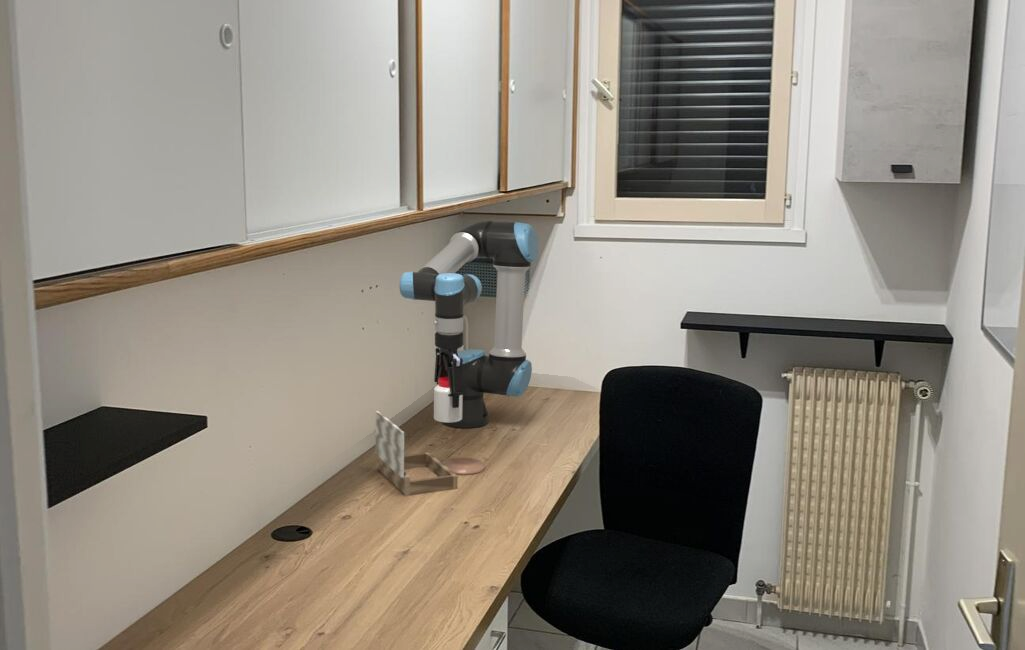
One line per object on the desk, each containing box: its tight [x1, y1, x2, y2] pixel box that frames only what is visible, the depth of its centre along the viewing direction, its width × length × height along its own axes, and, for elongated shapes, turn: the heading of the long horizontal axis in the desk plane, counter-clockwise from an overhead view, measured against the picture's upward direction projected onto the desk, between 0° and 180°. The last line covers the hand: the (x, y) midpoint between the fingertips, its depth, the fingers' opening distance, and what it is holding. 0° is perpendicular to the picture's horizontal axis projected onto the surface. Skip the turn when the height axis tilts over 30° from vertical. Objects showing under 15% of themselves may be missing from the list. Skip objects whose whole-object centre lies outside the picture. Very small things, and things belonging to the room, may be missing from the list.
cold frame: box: [374, 410, 459, 497], centre depth 259 cm, size 20×16×17 cm
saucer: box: [442, 457, 486, 476], centre depth 271 cm, size 12×12×1 cm
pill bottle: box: [433, 377, 463, 423], centre depth 264 cm, size 8×8×11 cm
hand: (448, 413), depth 264 cm, fingers closed on pill bottle, 8 cm apart
